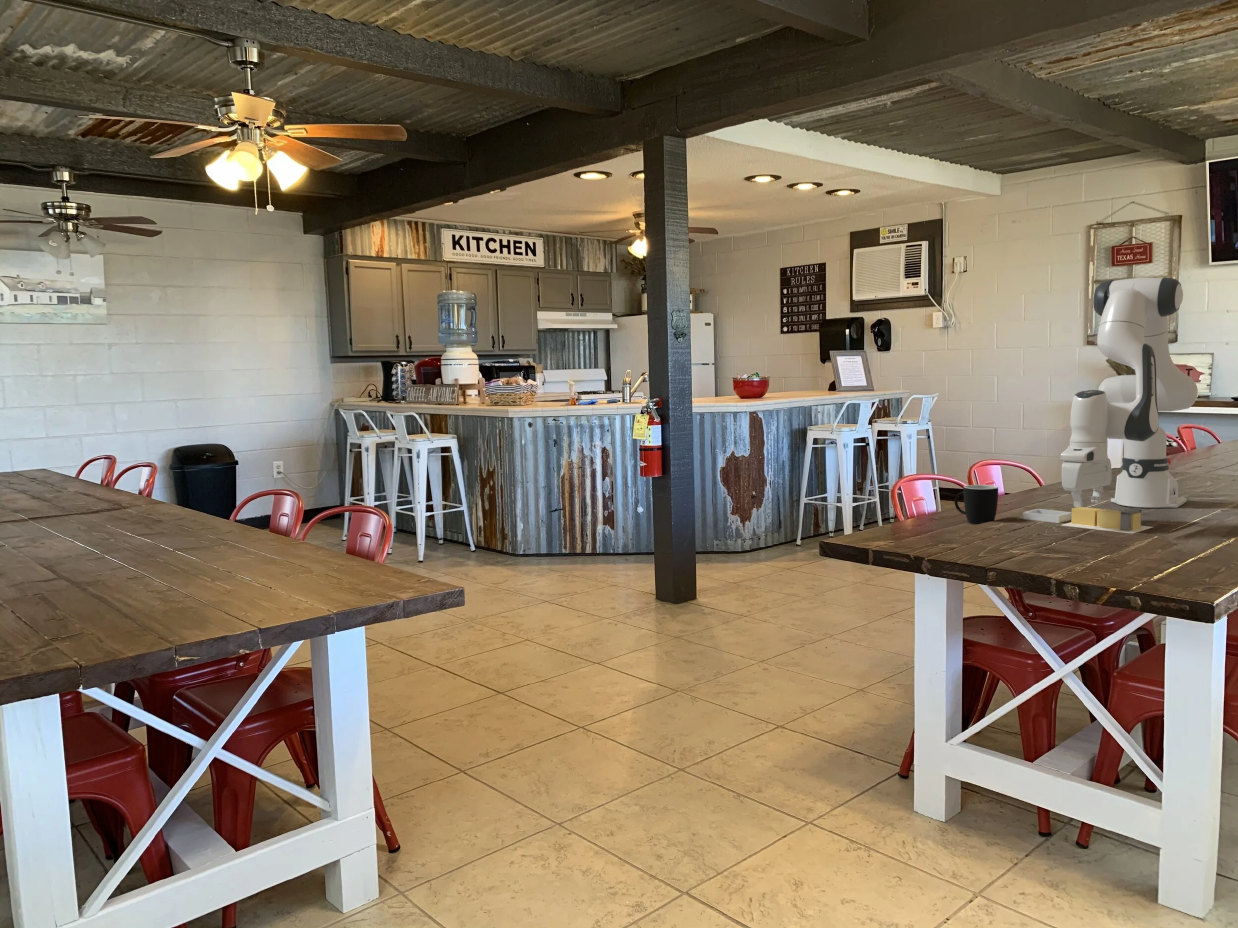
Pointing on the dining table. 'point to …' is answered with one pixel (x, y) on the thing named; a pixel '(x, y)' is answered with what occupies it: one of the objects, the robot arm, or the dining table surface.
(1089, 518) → the stub
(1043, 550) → the dining table surface
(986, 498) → the mug
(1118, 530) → the board
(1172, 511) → the dining table surface
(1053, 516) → the stub tray
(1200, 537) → the dining table surface
